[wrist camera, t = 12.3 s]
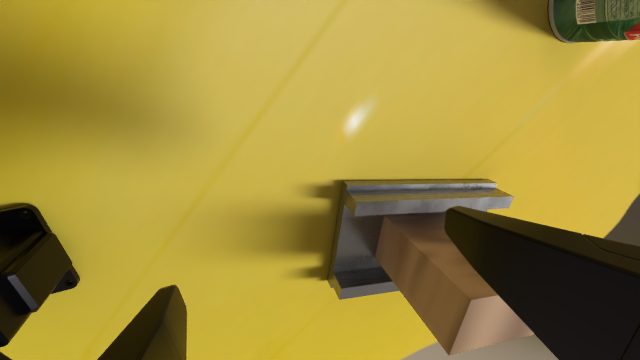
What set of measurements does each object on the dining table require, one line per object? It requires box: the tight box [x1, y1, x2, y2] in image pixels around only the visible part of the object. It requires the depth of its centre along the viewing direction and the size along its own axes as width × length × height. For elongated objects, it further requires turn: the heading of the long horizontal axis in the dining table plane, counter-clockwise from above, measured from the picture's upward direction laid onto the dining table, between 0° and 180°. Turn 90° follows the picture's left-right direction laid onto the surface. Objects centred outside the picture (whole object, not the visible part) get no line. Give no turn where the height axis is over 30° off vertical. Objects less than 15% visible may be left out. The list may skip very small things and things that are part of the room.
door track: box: [328, 179, 514, 300], centre depth 27 cm, size 16×10×3 cm, turn 83°
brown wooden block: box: [375, 212, 534, 355], centre depth 23 cm, size 8×4×10 cm, turn 82°
